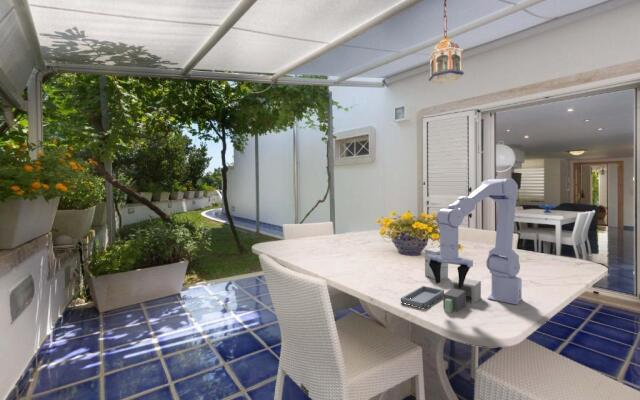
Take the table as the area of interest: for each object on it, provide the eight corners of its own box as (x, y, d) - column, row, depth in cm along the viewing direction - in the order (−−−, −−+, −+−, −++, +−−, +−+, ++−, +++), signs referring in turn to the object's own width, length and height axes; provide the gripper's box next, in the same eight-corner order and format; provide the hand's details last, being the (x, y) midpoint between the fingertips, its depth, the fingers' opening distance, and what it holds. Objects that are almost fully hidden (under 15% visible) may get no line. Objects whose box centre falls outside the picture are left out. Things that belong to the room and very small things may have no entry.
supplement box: (424, 275, 153) (424, 248, 152) (437, 273, 155) (437, 247, 155) (435, 280, 146) (435, 251, 145) (448, 278, 148) (448, 250, 148)
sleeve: (474, 303, 118) (474, 285, 117) (450, 298, 123) (450, 281, 123) (480, 297, 123) (480, 281, 122) (457, 293, 128) (457, 277, 128)
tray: (444, 295, 126) (444, 290, 126) (423, 309, 113) (423, 303, 113) (422, 290, 132) (422, 285, 132) (400, 303, 119) (400, 297, 119)
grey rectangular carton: (454, 314, 109) (454, 299, 108) (440, 310, 112) (440, 296, 111) (465, 304, 116) (465, 290, 116) (452, 301, 119) (452, 288, 119)
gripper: (423, 244, 112) (423, 283, 113) (467, 249, 102) (467, 292, 103) (431, 241, 117) (432, 278, 118) (475, 245, 107) (475, 286, 108)
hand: (449, 284), depth 111 cm, fingers open, 7 cm apart
